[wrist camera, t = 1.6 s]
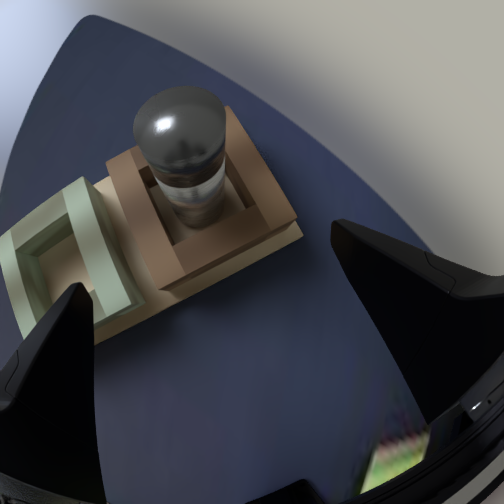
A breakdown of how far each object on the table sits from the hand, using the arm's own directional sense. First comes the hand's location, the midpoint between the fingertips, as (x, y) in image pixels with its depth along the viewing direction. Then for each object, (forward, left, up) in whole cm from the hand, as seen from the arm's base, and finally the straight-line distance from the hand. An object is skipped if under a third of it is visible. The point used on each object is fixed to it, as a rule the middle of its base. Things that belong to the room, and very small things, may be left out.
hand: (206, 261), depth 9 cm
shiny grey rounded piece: (+6, -2, -12) cm, 13 cm away
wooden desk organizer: (+6, +4, -13) cm, 15 cm away
